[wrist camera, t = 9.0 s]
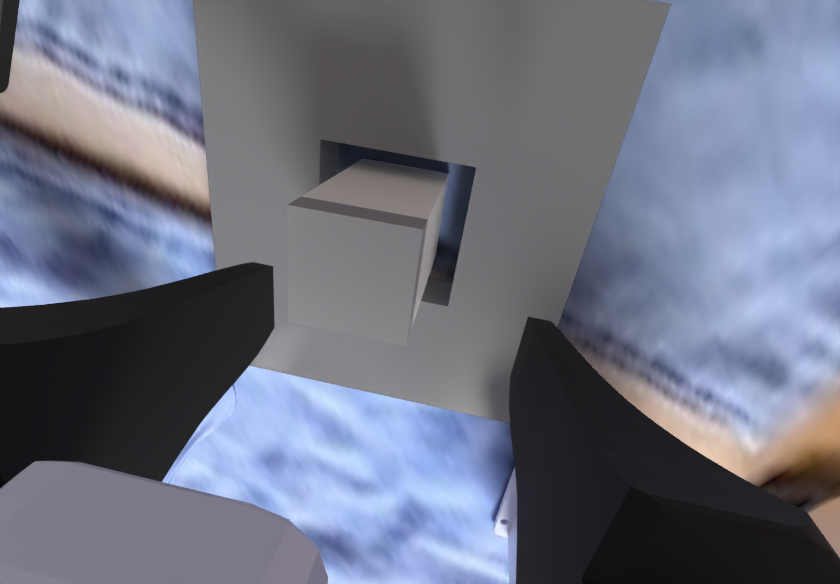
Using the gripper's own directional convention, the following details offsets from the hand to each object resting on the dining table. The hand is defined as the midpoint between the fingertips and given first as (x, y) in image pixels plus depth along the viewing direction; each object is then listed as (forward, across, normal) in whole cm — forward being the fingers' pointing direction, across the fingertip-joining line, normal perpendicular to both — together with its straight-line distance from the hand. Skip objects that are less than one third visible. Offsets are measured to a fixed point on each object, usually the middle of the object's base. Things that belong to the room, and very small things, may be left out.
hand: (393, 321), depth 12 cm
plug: (+9, +2, 0) cm, 10 cm away
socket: (+9, +2, 0) cm, 9 cm away
